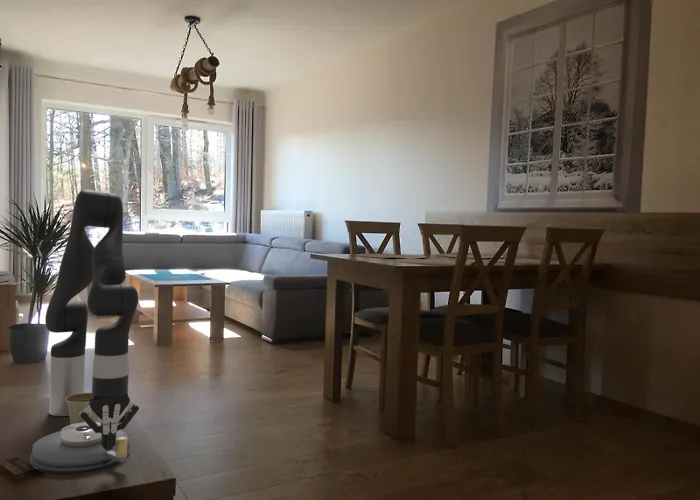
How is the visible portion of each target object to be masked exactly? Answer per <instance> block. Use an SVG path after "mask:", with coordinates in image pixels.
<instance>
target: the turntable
mask: <svg viewBox="0 0 700 500" xmlns="http://www.w3.org/2000/svg"><path fill="white" fill-rule="evenodd" d="M128 443H129V437H128V434H127V433H126V432H125V431H124V430H122V429H121V430H118V431H117V433H116V445H115V447H113V449H112V450H105V449H104V448H103V447H102V445H101V444H99V445H96V446H92V447H87V448H66V447H63V446H62V445H61V430H59V431H55V432H53V433H50V434H48V435H45V436H42V437H41V438H39V439H37V440H36V441H35V442H34V443H33V444H32V448H31V449H32V450H31V453H32V458H33V460H34V461H36V462H37V463H40V464H42V465H46V466H53V467H77V466H85V465H91V464H96V463H100V462H104V461H107V460H110V459H113V460H116V461H118V463H123V462H126V461H127V460H128V459H127V458H128V456H127V447H128Z"/></svg>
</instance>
